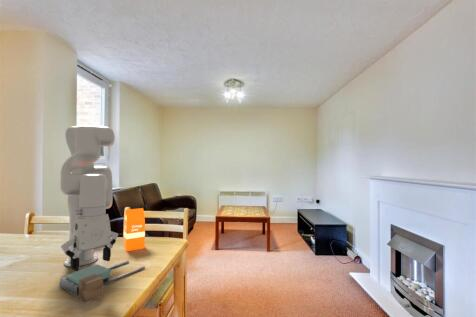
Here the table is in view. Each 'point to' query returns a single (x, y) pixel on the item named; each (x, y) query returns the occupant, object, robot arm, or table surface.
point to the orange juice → (134, 229)
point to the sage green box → (90, 273)
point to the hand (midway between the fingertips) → (91, 265)
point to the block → (90, 288)
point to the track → (74, 287)
